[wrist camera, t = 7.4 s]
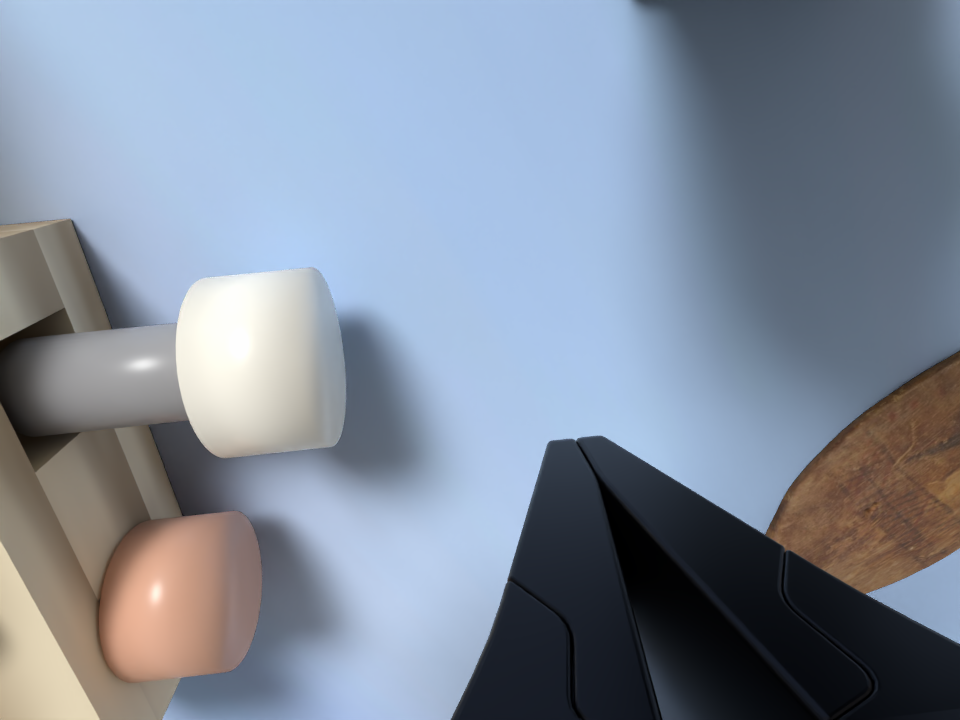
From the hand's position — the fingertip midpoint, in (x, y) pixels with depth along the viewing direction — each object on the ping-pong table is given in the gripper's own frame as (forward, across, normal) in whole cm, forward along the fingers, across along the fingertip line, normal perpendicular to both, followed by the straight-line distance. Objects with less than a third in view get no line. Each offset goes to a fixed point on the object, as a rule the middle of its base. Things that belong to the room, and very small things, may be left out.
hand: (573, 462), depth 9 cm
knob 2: (+8, +13, +7) cm, 16 cm away
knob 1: (+8, +8, 0) cm, 12 cm away
